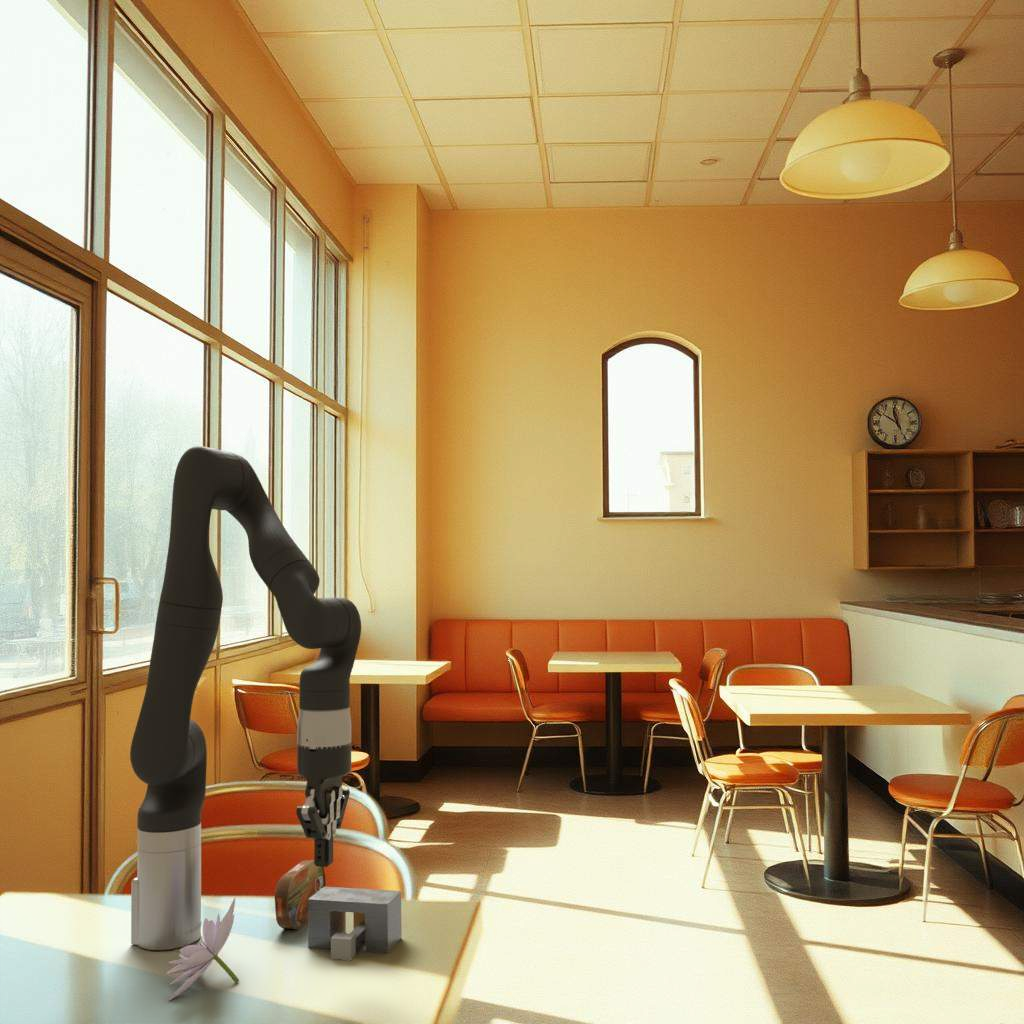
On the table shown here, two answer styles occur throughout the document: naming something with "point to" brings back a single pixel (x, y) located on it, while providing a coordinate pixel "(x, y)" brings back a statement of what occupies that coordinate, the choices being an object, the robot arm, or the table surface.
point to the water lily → (204, 951)
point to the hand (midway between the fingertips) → (323, 865)
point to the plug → (349, 939)
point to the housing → (335, 902)
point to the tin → (297, 893)
